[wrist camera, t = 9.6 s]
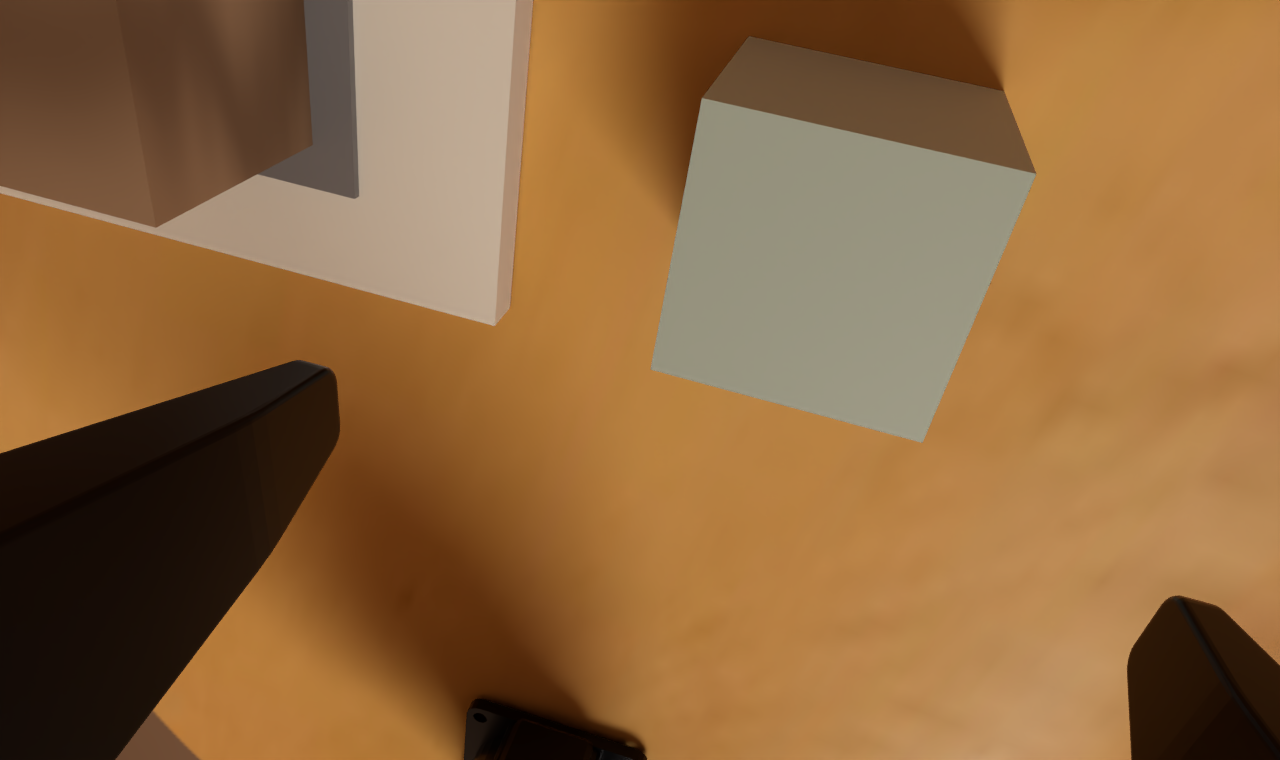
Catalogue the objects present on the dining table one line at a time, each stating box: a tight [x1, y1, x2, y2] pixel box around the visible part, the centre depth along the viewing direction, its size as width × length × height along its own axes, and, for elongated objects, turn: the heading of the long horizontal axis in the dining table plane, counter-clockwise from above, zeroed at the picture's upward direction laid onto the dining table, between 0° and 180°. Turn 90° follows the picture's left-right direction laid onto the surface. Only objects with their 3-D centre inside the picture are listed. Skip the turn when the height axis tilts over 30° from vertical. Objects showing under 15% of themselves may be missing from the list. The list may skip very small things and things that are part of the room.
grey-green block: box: [651, 36, 1036, 443], centre depth 16 cm, size 5×5×5 cm
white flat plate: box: [0, 0, 533, 326], centre depth 19 cm, size 12×14×1 cm
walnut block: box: [0, 0, 313, 228], centre depth 16 cm, size 5×5×5 cm
